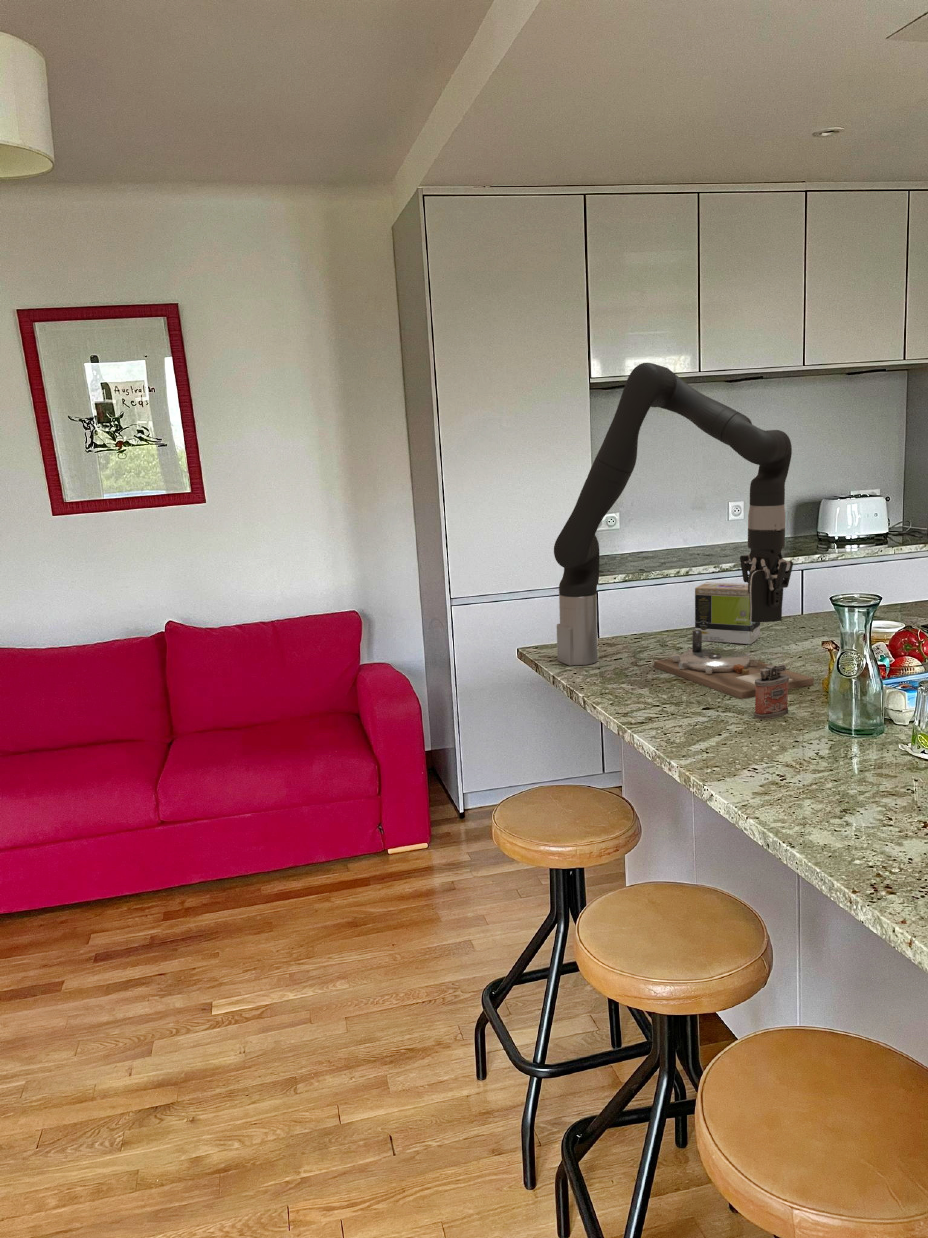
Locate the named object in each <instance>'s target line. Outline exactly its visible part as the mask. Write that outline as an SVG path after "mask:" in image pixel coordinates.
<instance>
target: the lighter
mask: <svg viewBox="0 0 928 1238" xmlns="http://www.w3.org/2000/svg"><path fill="white" fill-rule="evenodd" d="M769 665H770V664H769ZM769 665H768V666H766V668H765V669H761V670H760V675H761V678H759V679H756V680H755V685H756V695H755V698H754V699H755V700H754V701H755V703H754V704H755V705H754V706H755V707H754V713H753V717H754V718H755V719H758V720H768V719H773V718H778V717H782V716H785V715H788V714H789V707H788V701H789V699H788V697H789V690H788V681H789V676H788V675H782V674H781V673H780V672H783V671H786V670H787V666H786V664H784V663H780V664H776V665H772V666H769ZM773 666H774V667H773Z"/></svg>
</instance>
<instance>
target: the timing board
mask: <svg viewBox="0 0 928 1238" xmlns="http://www.w3.org/2000/svg"><path fill="white" fill-rule="evenodd" d="M653 664H654V666H653V667H654V669H655V668H656V669H658V670H660V671H663V672H666V673H670V674H672V675H674V676H678V677H680V678H683V679H686V680H688V681H691V682H694V683H696V684H699V685H702V686H704V687H707V688H709V689H713V690H716V691H718V692H721V693H724V694H727V695H729V696H732V697H734V698H738V699H741V700H744V699H745V700H746V699H749V698H754V697H755V695H756V685H755V680H756V679H759V678H761V675H760V670H761V669H765V668H766V666H768V665H769V666H773V667H774V666H775V665H772V664H768V663H765V662H761V661H759V660H758V662H757V666H749V667H748V668H746V669H743V670H742V673H737V672H735V671H733V672H713V673H712V674H706V672H703V671H696V670H691V669H683V670H682V669H679V662H673V657H671V658H665V659H658V660H655V661H653ZM780 673H781V674H782V675H788V676H789V681H788V691H789V690H793V689H798V688H804V687H808V686H809V687H810V686H814V684H815V683H814V682H815V681H814V680H815V678H814V677H811V676H808V675H806V674H805V675H804V674H801V673H798V672H795V671H791V670H789V669H786V671H783V672H780Z"/></svg>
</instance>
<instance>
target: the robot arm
mask: <svg viewBox="0 0 928 1238" xmlns="http://www.w3.org/2000/svg"><path fill="white" fill-rule="evenodd" d="M651 408H659V409H664V410H667V411H670V412H673V413H675V414H678V415H680V416H682V417H683V418H685V419H687V420H689V421H690V422H691V423H693V424H694V425H695V426H696V427H697V428H698V429H699V430H701V431H702V432H704V433H705V434H707V435H709V436H711V437H712V438H714V439H716V440H718V441H719V442H721V443H723V444H725V445H727V446H729V447H730V448H731V449H732V450H733V451H734V452H736V453H737V454H738V455H739V456H741V457H742V458H743V459H744V460H746V461H748V462H750V463H751V464H754V465H756V466H758V472H757V475H756V476H754V478H753V479H752V480H751V481H750V486H749V505H748V506H749V508H748V509H749V510H748V515H747V548H748V549H750V552H749V554H744V555H740V557H739V561H740V562H739V563H740V568H741V573H742V580H743V582H744V583H746V584H748V577H749V574H750V572H751V571H752V570H756V569H759V570H764V575H765V579H766V580H767V581H768V585H769V589H770V590H769V598H768V606H769V607H771V608H774V607H778V605H779V603H780V590H781V589H782V588H783V589H786V588H788V587H789V583H790V579H791V574H792V570H793V567H794V561H792V560H786V559H785V558H784V557H783V554H782V551H783V549H784V548H785V546H786V545H785V544H786V509H785V503H786V501H785V500H786V498H785V497H786V496H785V495H786V485H785V484H786V481H787V477H788V473H789V470H790V464H791V460H792V453H793V452H792V451H793V449H792V442H791V438H790V437H789V435H788V434H787V433H786V432H784V431H783V430H779V429H769V430H765V429H761V428H760V427H757V426H756V425H754V424H753V423H752V420H751V418H750V417H748V416H747V415H745V414H744V413H742V412H739V411H738V410H735V409H733V408H731V407H730V406H728V405H725V404H723V403H721V402H719V401H717V400H716V399H713V398H711V397H709V396H708V395H705V394H703V393H702V392H699V391H698V390H697V389H695V388H693V387H692V386H690V384H688V383H687V382H686V381H684V380H683V379H682V378H681V377H679V376H678V375H677V374H676V373H675V372H673V371H672V370H671V369H669V368H668V367H665V366H664V365H663V366H662V365H659V364H656V363H652V362H643V363H639V364H637V366H635V367H634V369H632V370H631V372H630V373H629V375H628V377H627V379H626V382H625V384H624V387H623V390H622V393H621V396H620V399H619V401H618V404H617V408H616V411H615V414H614V415H613V419H612V421H611V423H610V425H609V427H608V430H607V432H606V434H605V437H604V439H603V442H602V443H601V446H600V448H599V450H598V452H597V454H596V456H595V458H594V460H593V462H592V465H591V467H590V469H589V472H588V475H587V477H586V479H585V481H584V484H583V486H582V488H581V491H580V494H579V496H578V498H577V500H576V503H575V506H574V508H573V510H572V512H571V514H570V516H569V517H568V519H567V520H566V522H565V525H563V528H562V529H561V531H560V532H559V535H558V536H557V537H556V539H555V542H554V546H553V556H554V559H555V560H556V562H557V564H558V565H559V566H560V567H562V568H563V574H562V578H561V580H560V582H559V585H558V599H559V600H558V604H559V606H558V607H559V608H558V609H559V623H557V624H556V652H557V653H556V654H557V655H556V657H557V658H556V660H557V662H560V663H563V664H564V665H567V666H585V665H591V664H595V663H597V662H598V655H599V654H598V653H599V652H598V612H597V611H598V610H597V609H598V608H597V607H598V605H597V604H598V599H597V598H598V596H597V592H598V591H597V590H598V589H597V588H598V583H599V579H600V543H599V541H598V538H597V536H596V533H597V530H598V528H599V527H600V525H601V523H602V520H604V518H605V516H606V515H607V514H608V513H609V511H610V510H611V508H612V507H613V506H614V505H615V503H616V502H617V500H618V499H619V498H620V496H622V493H624V490H625V488H626V486H627V484H628V482H629V480H630V478H631V476H632V474H633V471H634V469H635V466H636V464H637V458H638V457H637V456H638V444H639V435H640V431H641V427H642V425H643V423H644V421H645V418H646V416H647V414H648V412H649V410H651ZM776 571H778V574H777V575H771V574H773V573H775V572H776ZM773 579H775V583H776V584H774V581H773ZM782 580H783V582H782Z"/></svg>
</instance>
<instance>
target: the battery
mask: <svg viewBox="0 0 928 1238" xmlns="http://www.w3.org/2000/svg"><path fill="white" fill-rule="evenodd" d="M777 574H778V571H776V572H775V573H773V574H771V575H777ZM783 580H784V579H783ZM783 580H782V582H783ZM773 581H774V584H776V583H775V579H773ZM747 584H748V593H750V614H749V620H750V621H751V622H760V623H771V622H772V623H773V622H781V621H782V620H783V615H782V614H783V600H784V588H782V589H781V590H780V603H779V605H778V607H774V608H771V607H769V606H768V598H769V590H770V589H769V585H768V581H767V580H766V579H765V575H764V570H759V569H756V570H752V571H751V572H750V573H748V583H747Z"/></svg>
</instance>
